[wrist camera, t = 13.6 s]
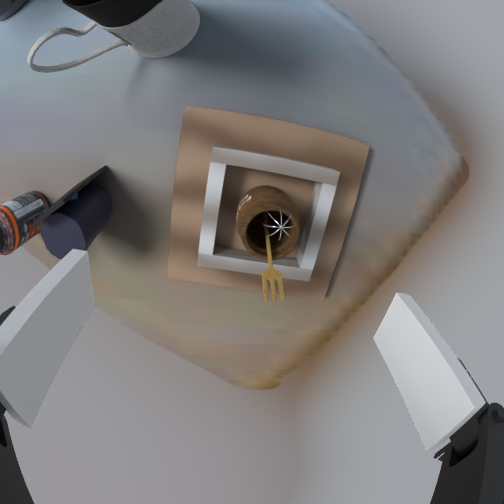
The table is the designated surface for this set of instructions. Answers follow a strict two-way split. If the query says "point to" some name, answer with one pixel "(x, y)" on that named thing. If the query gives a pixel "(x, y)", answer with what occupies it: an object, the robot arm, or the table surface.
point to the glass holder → (131, 27)
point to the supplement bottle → (20, 220)
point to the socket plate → (252, 175)
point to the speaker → (75, 218)
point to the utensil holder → (268, 230)
